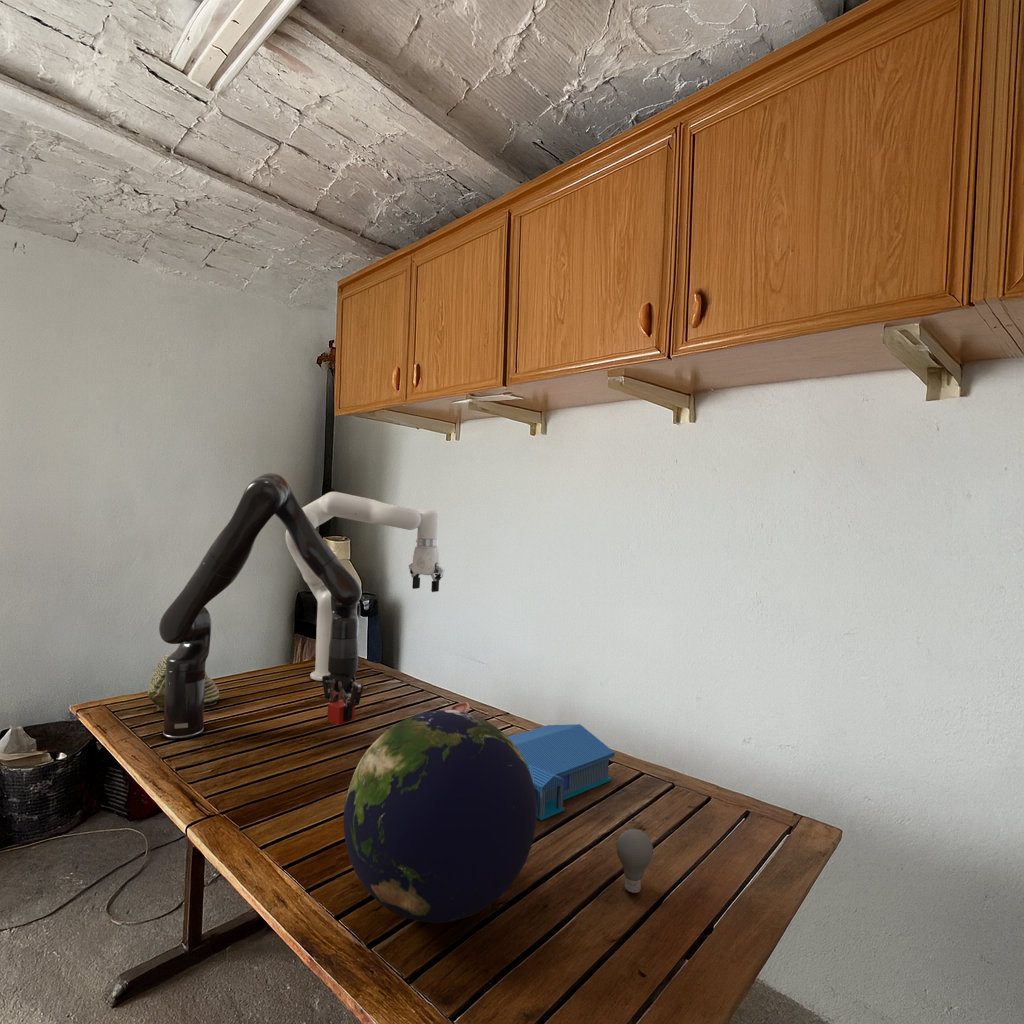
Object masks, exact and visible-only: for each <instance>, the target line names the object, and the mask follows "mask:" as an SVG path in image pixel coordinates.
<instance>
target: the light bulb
mask: <svg viewBox="0 0 1024 1024" xmlns="http://www.w3.org/2000/svg"><path fill="white" fill-rule="evenodd" d="M615 849H616V854H617V857H618V859H619V861H620V863H621V865H622V867H623V873H624V874H623V875H624V876H625V878H624V888H625V890H627V891H628V892H630V893H634V894H635V893H639V892H640V891H641V889H642V887H641V886H642V879H643V877H644V875H645V871H646V868H647V867H648V866H649V864H650V863H651V861H652V859H653V855H654V847H653V843H652V841H651V838H649V836H648V835H647V834H646V833H645V832H643V831H642V830H641V829H636V828H629V829H627V830H625V831H623V832H622V833H621V834H620V835H619V837H618V839H617V841H616V847H615Z"/></svg>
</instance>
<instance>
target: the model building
mask: <svg viewBox="0 0 1024 1024" xmlns="http://www.w3.org/2000/svg"><path fill="white" fill-rule="evenodd" d="M507 737H508V738H509V739H510V740H511V741H512V742H513V744H514V745H515V746H516V747H517V749H518V750H519V751H520V753H521V755H522V756H523V758H524V760H525V762H526V764H527V766H528V769H529V772H530V774H531V778H532V781H533V785H534V790H535V795H536V806H537V817H536V820H539V821H543V820H546V819H549V818H551V817H553V816H555V815H558V814H559V813H562V812H564V811H565V810H566V809H565V807H564V805H563V804H564V801H565V800H568V799H570V798H572V797H575V796H577V795H580V794H582V793H585V792H587V791H589V790H591V789H594V788H597V787H599V786H601V785H603V784H606V783H609V782H610V781H612V779H613V778H612V777H610V776H609V766H610V765H609V763H610V759H612V758H614V757H615V751H613V750H612V749H611V748H610V747H609V746H608V745H606V744H605V743H604V742H603V741H601V740H600V738H598V737H597V736H595V735H594V734H593V733H592V732H591V731H589V730H588V729H587V728H586V727H584V726H583V725H582V724H580V723H578V724H576V723H575V724H548V725H547V724H546V725H544V726H541V727H537V728H533V729H530V730H526V731H524V732H520V733H517V734H514V735H513V734H512V735H510V736H507Z"/></svg>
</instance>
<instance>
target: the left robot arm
mask: <svg viewBox="0 0 1024 1024" xmlns="http://www.w3.org/2000/svg"><path fill="white" fill-rule="evenodd" d="M302 508H303V507H302V506H301V505H300V503H299V501H298V499H297V497H296V495H295V493H294V492H293V489H292V488H291V487H290V485H289V483H288V482H287V480H286V479H285V478H284V477H283V476H282V475H280V474H278V473H274V472H266V473H263V474H261V475H259V476H258V477H256V478H255V479H253V480H252V481H251V482H249V483H248V484H247V486H246V488H245V489H244V492H243V493H242V496H241V499H240V500H239V502H238V505H237V507H236V508H235V510H234V513H232V514H233V515H232V516H231V518H230V520H229V521H228V522H227V524H226V525H225V526H224V527H223V529H222V530H221V531H220V533H218V535H217V536H216V538H215V539H214V541H213V542H212V543H211V545H210V547H209V548H208V549H207V551H206V552H205V554H204V556H203V557H202V559H201V561H200V562H199V565H198V566H197V568H196V569H195V571H194V572H193V574H192V575H191V577H190V579H189V580H188V581H187V583H186V585H184V587H183V589H182V590H181V591H180V593H179V594H178V596H176V598H175V599H174V600H173V602H172V603H171V604H170V605H169V606H168V608H167V609H166V610H165V612H164V613H163V615H162V616H161V618H160V621H159V625H158V632H159V636H160V638H161V640H162V641H163V642H165V643H167V644H170V645H178V647H177V648H176V649H175V650H174V651H173V652H172V653H170V654H169V655H170V656H169V657H168V658H167V660H166V674H165V705H164V710H163V731H162V737H164V738H166V739H169V740H185V739H190V738H191V739H192V738H194V737H197V736H199V735H202V734H203V732H204V730H205V729H204V722H205V721H204V718H205V706H204V693H205V672H206V664H207V663H206V662H207V659H208V657H209V654H210V647H211V639H212V637H211V636H212V617H211V614H210V612H209V610H208V609H207V608H206V606H207V605H208V603H210V602H211V601H212V600H214V598H216V597H217V596H218V595H219V594H221V593H222V592H224V590H226V589H227V588H228V587H229V586H230V585H231V584H232V583H234V581H235V580H236V579H237V577H238V576H239V574H240V573H241V571H242V570H243V568H244V567H245V565H246V563H247V562H248V560H249V557H250V555H251V553H252V550H253V548H254V545H255V542H256V539H257V538H258V536H259V534H260V533H261V531H262V530H263V529H264V528H265V526H266V525H267V523H268V522H269V521H270V520H271V518H273V516H274V515H275V516H276V517H277V518H278V520H280V522H281V523H282V525H283V526H284V527H285V529H287V530H288V532H289V534H290V536H291V538H292V540H293V543H294V545H295V547H296V549H297V551H298V553H299V554H300V556H301V558H302V559H303V560H304V562H305V563H306V564H307V565H308V567H309V568H310V569H311V570H312V571H313V573H314V574H315V575H316V576H317V577H318V578H319V579H320V580H321V581H322V582H323V583H324V585H325V586H326V588H327V589H328V590H329V592H330V593H331V611H332V620H331V635H330V636H331V637H330V643H329V658H328V672H329V673H331V674H330V675H326V676H323V677H322V681H321V682H322V686H323V695H324V699H326V700H328V702H329V703H333V702H336V701H340V698H341V700H343V702H344V715H343V721H344V722H346V723H349V722H352V721H351V719H352V712H353V706H355V707H356V706H359V705H360V702H361V699H362V694H363V690H364V684H363V683H358V682H357V680H356V674H357V672H358V671H359V647H360V642H359V625H360V623H359V616H358V612H357V611H358V610H357V608H358V602H359V601H360V600H361V598H362V593H363V592H362V590H363V589H362V587H361V585H360V583H359V582H358V580H356V578H355V577H354V576H353V575H352V574H351V573H350V572H349V570H347V568H346V567H345V566H344V565H343V564H342V562H341V561H340V559H339V558H338V556H337V555H336V553H335V552H334V551H333V550H332V548H331V546H329V545H328V543H327V542H326V541H325V540H324V539H323V537H322V536H321V535H320V533H319V532H318V530H317V528H314V526H313V525H312V523H311V522H310V520H309V519H308V517H307V516H306V514H305V513H304V511H303V509H302ZM348 699H349V700H348ZM348 701H349V702H348ZM348 721H349V722H348Z"/></svg>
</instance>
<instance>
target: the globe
mask: <svg viewBox="0 0 1024 1024" xmlns="http://www.w3.org/2000/svg"><path fill="white" fill-rule="evenodd" d="M508 737H509V736H508V735H507V734H505V732H503V731H502V730H501V729H500V728H498V727H497V726H495V725H494V724H492V723H491V722H489V721H488V720H485V719H483V718H482V717H479V716H477V715H475V714H472V713H469V712H468V713H464V712H461V711H456V710H441V709H438V711H437V710H430V711H425V712H422V713H421V712H420V713H418V714H414V715H412V716H409V717H407V718H405V719H403V720H401V721H399V722H397V723H395V724H394V725H393V726H391V727H390V728H388V729H387V730H386V731H385V732H383V733H382V734H381V735H380V736H378V738H377V739H376V740H375V741H374V742H373V743H372V744H371V745H370V746H369V747H368V749H367V750H366V751H365V753H364V754H363V756H362V757H361V758H360V760H359V762H358V764H357V765H356V768H355V770H354V773H353V775H352V777H351V778H350V782H349V784H348V789H347V791H346V797H345V800H344V809H343V835H344V843H345V847H346V851H347V855H348V858H349V861H350V863H351V866H352V868H353V870H354V873H355V874H356V876H357V878H358V880H359V881H360V882H361V884H362V885H363V887H364V888H365V889H366V890H367V892H368V893H369V894H370V895H371V896H372V897H373V899H375V901H377V903H379V904H381V905H382V906H383V907H384V908H386V909H387V910H389V911H391V912H392V913H394V914H396V915H398V916H400V917H403V918H406V919H408V920H411V921H416V922H419V923H427V924H428V923H429V924H444V923H451V922H456V921H459V920H463V919H467V918H469V917H471V916H473V915H476V914H478V913H480V912H482V911H483V910H485V909H487V908H488V907H489V906H490V905H492V904H494V903H495V902H496V901H497V900H498V899H499V898H501V896H503V895H504V893H506V891H508V889H510V887H511V886H512V885H513V883H514V882H515V881H516V879H517V878H518V876H519V875H520V873H521V871H522V869H523V867H524V866H525V864H526V862H527V860H528V857H529V854H530V852H531V849H532V845H533V843H534V838H535V832H536V827H537V818H536V817H537V806H536V795H535V790H534V785H533V781H532V778H531V774H530V772H529V769H528V766H527V764H526V762H525V760H524V758H523V756H522V755H521V753H520V751H519V750H518V749H517V747H516V746H515V745H514V744H513V742H512V741H511V740H510V739H509V738H508Z"/></svg>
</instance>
